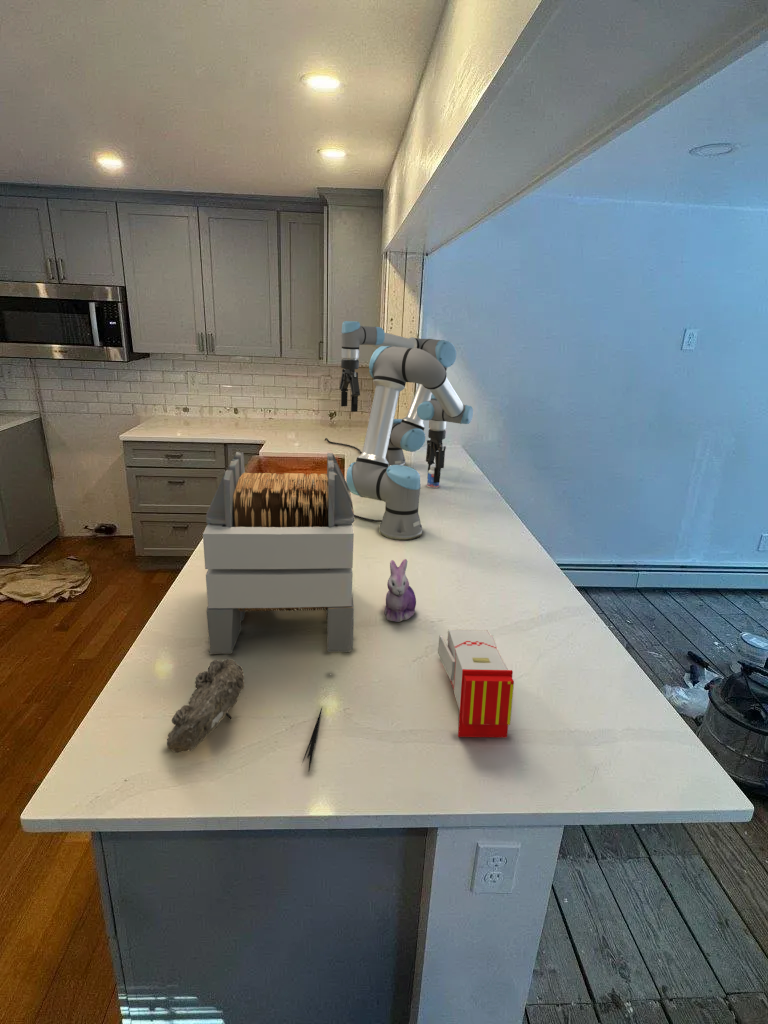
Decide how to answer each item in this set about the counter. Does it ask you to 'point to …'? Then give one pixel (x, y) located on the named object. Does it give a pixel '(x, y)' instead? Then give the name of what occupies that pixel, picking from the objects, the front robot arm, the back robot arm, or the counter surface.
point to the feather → (313, 740)
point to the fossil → (206, 705)
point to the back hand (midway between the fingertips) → (349, 408)
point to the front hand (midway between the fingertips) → (433, 480)
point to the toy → (478, 682)
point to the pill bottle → (431, 478)
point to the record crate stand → (279, 550)
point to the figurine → (399, 594)
